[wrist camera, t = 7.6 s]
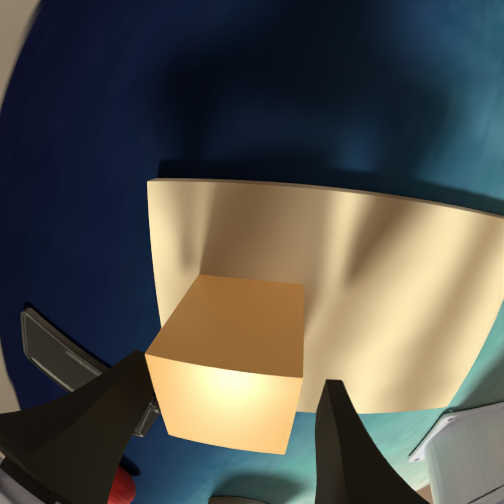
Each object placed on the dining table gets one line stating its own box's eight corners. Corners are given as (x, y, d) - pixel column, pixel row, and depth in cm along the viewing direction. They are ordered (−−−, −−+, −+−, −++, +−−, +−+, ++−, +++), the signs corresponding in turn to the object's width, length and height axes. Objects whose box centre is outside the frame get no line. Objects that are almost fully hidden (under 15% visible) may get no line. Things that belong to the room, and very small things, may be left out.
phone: (142, 439, 23) (24, 355, 22) (146, 431, 24) (30, 349, 23) (162, 408, 20) (20, 306, 19) (167, 398, 21) (27, 299, 20)
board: (516, 219, 11) (564, 247, 7) (443, 397, 16) (458, 441, 12) (156, 178, 14) (103, 197, 9) (178, 383, 19) (156, 430, 15)
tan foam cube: (303, 284, 13) (302, 378, 8) (292, 362, 15) (284, 454, 10) (199, 274, 14) (144, 354, 9) (204, 351, 16) (168, 434, 10)
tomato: (86, 441, 28) (62, 481, 21) (143, 470, 28) (124, 515, 21) (92, 460, 32) (73, 494, 24) (141, 485, 32) (125, 522, 24)
